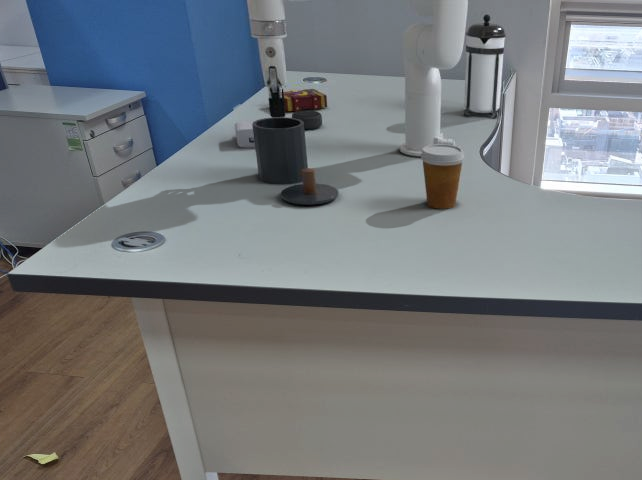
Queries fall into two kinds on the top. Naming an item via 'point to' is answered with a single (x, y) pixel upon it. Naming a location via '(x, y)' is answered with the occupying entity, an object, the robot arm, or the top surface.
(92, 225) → the top surface
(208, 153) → the top surface
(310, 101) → the decorative book
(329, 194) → the lid
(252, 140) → the charger
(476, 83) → the coffee press
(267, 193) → the top surface
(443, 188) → the disposable coffee cup
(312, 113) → the smart speaker
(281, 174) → the container
